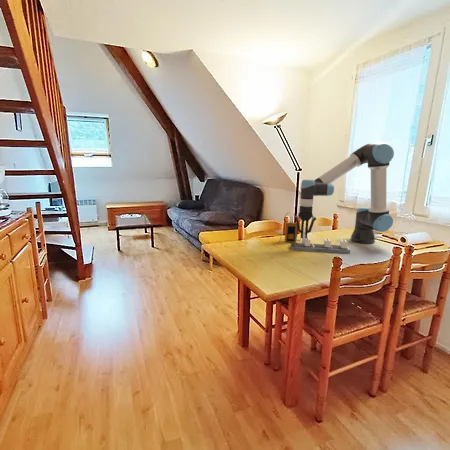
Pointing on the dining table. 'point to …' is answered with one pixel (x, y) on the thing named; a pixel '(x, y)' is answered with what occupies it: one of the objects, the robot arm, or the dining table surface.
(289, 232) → the multimeter
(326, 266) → the dining table surface
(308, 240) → the breaker
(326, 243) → the block
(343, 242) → the breaker
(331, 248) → the panel
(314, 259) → the dining table surface
